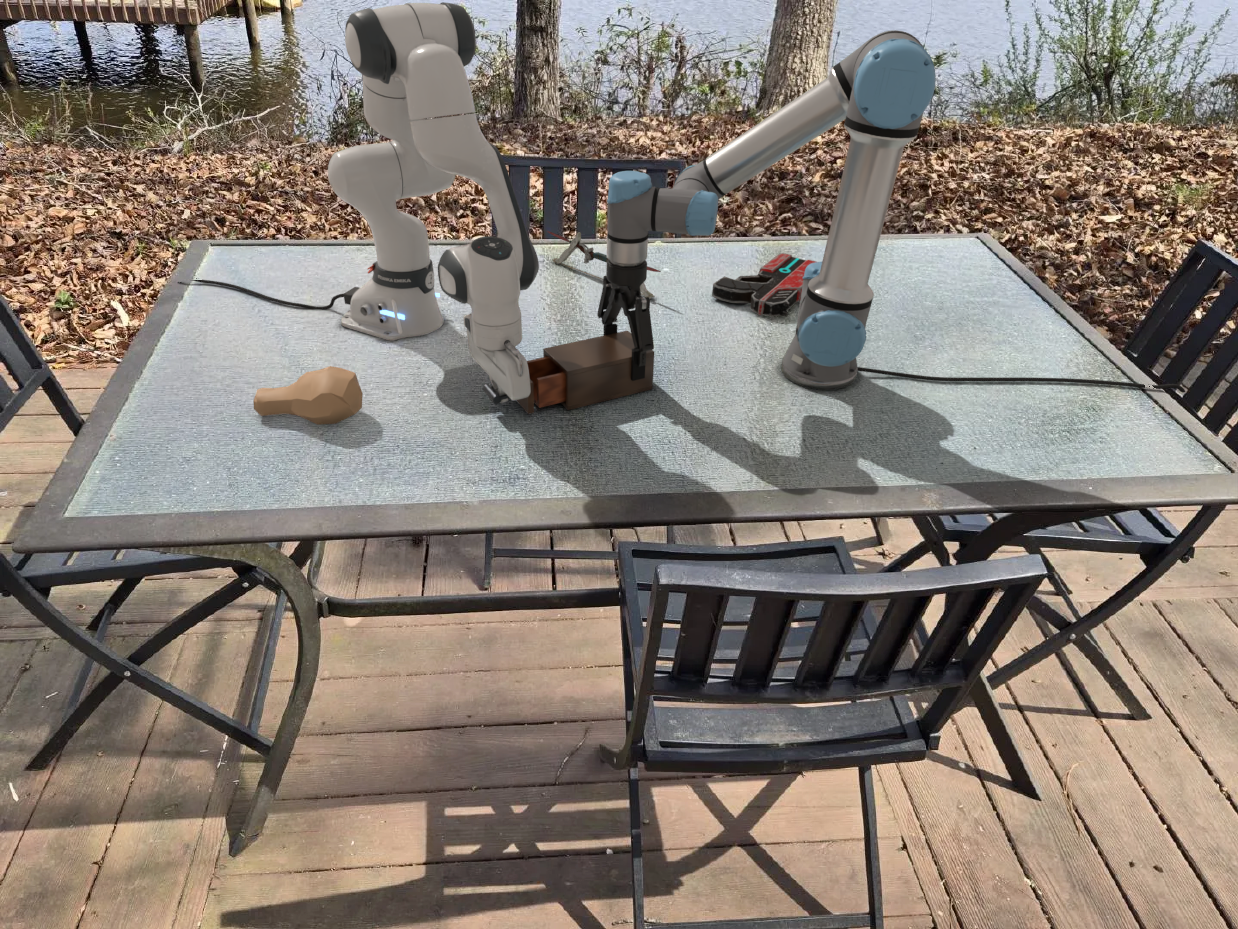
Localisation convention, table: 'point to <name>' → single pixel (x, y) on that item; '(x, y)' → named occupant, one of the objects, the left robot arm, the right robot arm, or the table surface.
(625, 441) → the table surface
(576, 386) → the cabinet
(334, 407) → the squash
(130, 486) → the table surface
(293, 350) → the table surface
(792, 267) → the gun
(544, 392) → the drawer
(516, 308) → the left robot arm
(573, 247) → the bow
